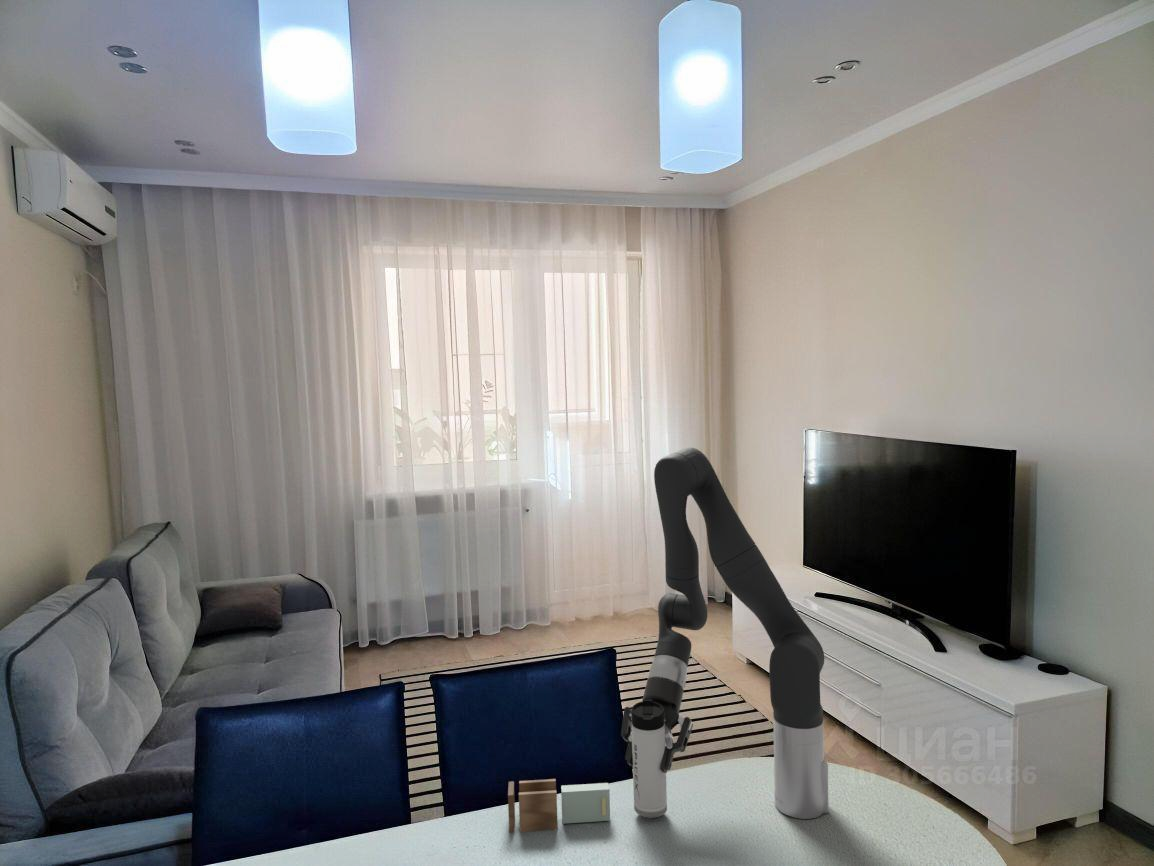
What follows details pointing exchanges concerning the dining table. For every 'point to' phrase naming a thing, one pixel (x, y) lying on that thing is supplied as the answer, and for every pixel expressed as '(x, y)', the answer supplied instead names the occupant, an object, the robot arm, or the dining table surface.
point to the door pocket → (534, 805)
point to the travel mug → (648, 759)
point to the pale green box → (585, 803)
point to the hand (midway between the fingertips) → (646, 767)
